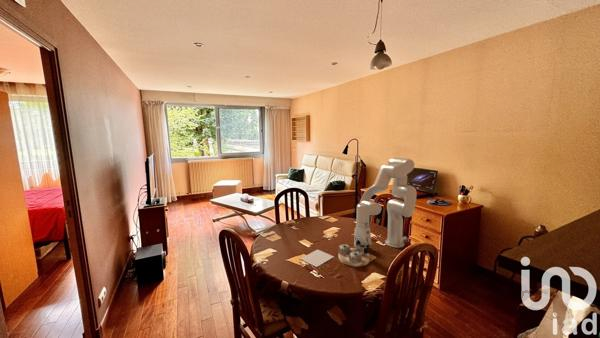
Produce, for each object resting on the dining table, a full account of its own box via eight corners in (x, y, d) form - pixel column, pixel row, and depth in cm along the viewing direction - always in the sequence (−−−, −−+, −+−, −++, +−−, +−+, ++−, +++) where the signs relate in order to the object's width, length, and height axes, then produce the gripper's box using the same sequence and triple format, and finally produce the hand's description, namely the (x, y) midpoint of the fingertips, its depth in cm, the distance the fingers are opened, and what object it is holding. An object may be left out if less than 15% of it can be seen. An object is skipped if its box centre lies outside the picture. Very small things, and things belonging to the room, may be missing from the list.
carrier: (356, 248, 160) (356, 238, 159) (376, 261, 143) (376, 250, 142) (332, 254, 152) (332, 244, 151) (350, 269, 135) (350, 258, 134)
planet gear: (362, 248, 154) (363, 242, 154) (370, 253, 148) (370, 247, 147) (354, 250, 151) (354, 244, 151) (361, 255, 145) (361, 249, 144)
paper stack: (346, 263, 143) (346, 262, 142) (319, 281, 125) (319, 280, 125) (317, 250, 159) (317, 249, 159) (289, 264, 142) (289, 263, 142)
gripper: (377, 227, 141) (376, 255, 143) (358, 218, 156) (358, 243, 159) (367, 229, 138) (366, 258, 140) (349, 220, 153) (348, 246, 156)
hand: (362, 250), depth 149 cm, fingers closed on planet gear, 7 cm apart
